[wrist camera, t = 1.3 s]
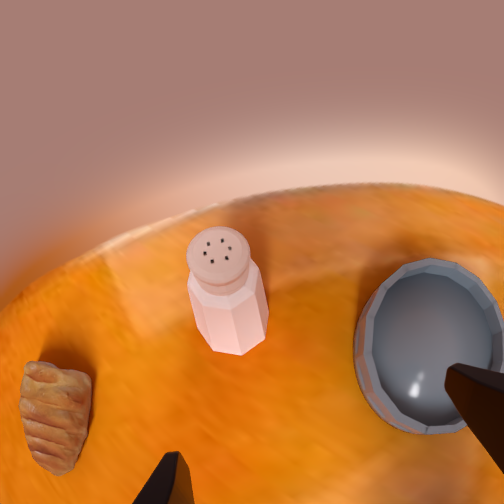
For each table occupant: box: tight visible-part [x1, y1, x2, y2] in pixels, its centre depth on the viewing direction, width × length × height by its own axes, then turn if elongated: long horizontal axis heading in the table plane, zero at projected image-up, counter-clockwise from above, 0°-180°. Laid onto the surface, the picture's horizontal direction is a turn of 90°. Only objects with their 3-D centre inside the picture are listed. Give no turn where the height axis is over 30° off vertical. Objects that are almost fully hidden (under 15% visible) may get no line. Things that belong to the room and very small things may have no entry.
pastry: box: [19, 361, 92, 476], centre depth 18 cm, size 9×7×4 cm
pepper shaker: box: [186, 226, 269, 355], centre depth 18 cm, size 5×5×11 cm
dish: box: [353, 258, 504, 435], centre depth 21 cm, size 14×14×2 cm
